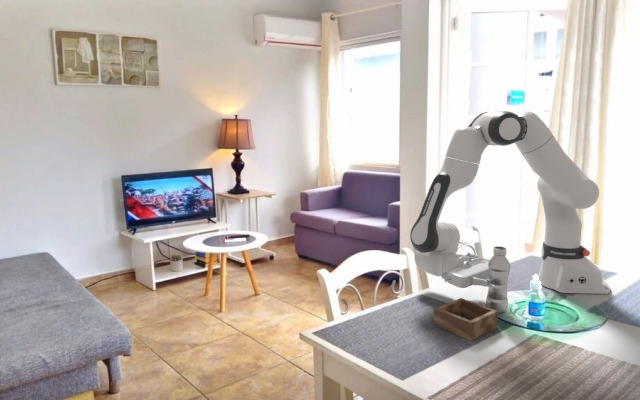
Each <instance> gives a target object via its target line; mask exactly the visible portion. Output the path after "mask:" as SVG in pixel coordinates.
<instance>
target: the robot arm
mask: <svg viewBox="0 0 640 400" xmlns="http://www.w3.org/2000/svg"><path fill="white" fill-rule="evenodd" d="M553 134H554V133H553V132H552V131H551V129H550V128H549V127H548V126H547V125H546V123H545V122H544V121H543V120H542V119H541V118H540V117H539V116H538V115H537V114H536V113H535V112H532V111H524V112H520V113H518V114H516V113H514V112H511V111H505V110H504V111H503V110H493V111H485V112H482V113H479V114H478V115H477V116H476V117H475V118H474V119H473V120H472V121H471V123H469V125H468V126H461V127H459V128H457V129H456V130H455V131H454V133H453V134H452V137H451V140H450V141H449V144H448V147H447V150H446V154H445V157H444V161H443V164H442V167H441V168H440V170H439V172H438V173H437V175H436V176H435V177H434V179H433V180H432V182H431V184H430V187H429V189H428V192H427V195H426V198H425V199H424V202H423V204H422V205H423V206H422V207H421V211H420V213H419V216H418V218H417V219H416V221H415V222H414V224H413V225H412V228H411V229H410V235H409V237H410V242H411V245H412V247H413V248H414V249H415V253H414V262H415V265H416V266H417V268H418V269H420V270H421V271H422V272H425V273H427V274H430V275H433V276H436V277H441V279H444V280H446V282H447V283H448V284H450V285H452V286H454V287H457V288H460V289H466V288H468V287H471V286H481V287H489V273H488V263H489V260H490V259H488V258H484V257H479V255H478V254H474V253H473V254H461V253H460V254H459V253H457V251H458V248H459V245H460V244H459V243H460V241H461V235H460V231H459V229H458V228H457V226H456V225H455V224H453V223H450V222H442V221H441V222H440V221H439V219H440V216H441V214H442V211H443V209H444V206H445V205H446V204H445V203H446V202H447V199H448V198H449V197H450V196H451V195H452V194H454V193H455V192H457V191H459V190H462V189H464V188H467V187H468V186H470V185H471V184H472V183H474V180H475V179H476V177H477V174H478V170H479V167H480V163H481V159H482V155H483V153H484V152H485V149H486V148H487V147H489V146H502V147H503V146H509V145H513V144H515V145H516V147H517V149H518V151H520V153H521V154H522V156H523V158H524V159H525V161H526V162H527V165H529V167H530V168H531V170H532V171H533V172H534V173H535V174H536V175H537V176H539V178H538V180H537V183H536V185H537V190H538V192H539V194H540V196H541V200H542V201H541V202H542V206H543V210H544V211H543V213H544V220H545V225H544V226H545V227H544V241H543V242H542V247H541V260H542V261H541V265H540V269H539V271H538V272H539V273H538V275H537V277H538V276H539V279H540V281H541V283H542V285H541V286H543V287H544V288H548V289H550V290H554V291H557V292H559V293H562V294H588V295H589V294H593V295H594V294H596V295H597V294H599V295H600V294H601V295H608V294H609V293H610V292H611V287H610V285H609V284H608V282H606V281H605V280H604V277H603V274H602V271H601V269H600V268H599V266H597V265H596V264H595V263H594V262H592V260H590V259H589V258H588V257H589V256H590V255H591V252H590V251H589V249H587V248H586V247H584V246H583V245H581V239H582V227H583V226H582V221H581V219H580V218H579V214H578V211H577V210H579V209H580V210H582V209H583V210H584V209H589V208H591V207H593V206H594V205H595V204H596V203H597V202H598V199H599V197H600V189H599V186H598V185H597V183H596V182H595V181H594V180H592V179H591V178H590V177H588V176H587V175H586V174H585V173H584V172H583V170H582V169H581V168H580V167H579V166H578V165H577V164H576V163H575V162H574V161H573V160H572V159H571V158H570V157H569V156H568V154H567V153H566V152H565V151H564V149H563V148H562V146H561V145H560V143H559V142H558V140H557V139H556V137H555V136H554V135H553Z"/></svg>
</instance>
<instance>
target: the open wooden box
mask: <svg viewBox="0 0 640 400" xmlns="http://www.w3.org/2000/svg"><path fill="white" fill-rule="evenodd" d="M498 315H499V313H498V311H497V310H494V309H491V308H488V307H486V305H482V304H479V303H477V302H473V301H471V300H468V299H465V298H462V297H460V298H458V299H455V300H453V301H450V302H448V303H445V304H443V305H440V306H437V307H436V308H435V307H434V310H433V326H435V327H437V328H439V329H442V330H443V331H446V332H449V333H451V334H453V335H456V336H458V337H460V338H464V339H466V340H469V341H470V342H471V341H473V340H476V339H477V338H479V337H481V336H484V335H485V334H487V333H490V332H491V331H493V330H495V329H498V321H499V320H498V318H499V317H498Z"/></svg>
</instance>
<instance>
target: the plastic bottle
mask: <svg viewBox="0 0 640 400" xmlns="http://www.w3.org/2000/svg"><path fill="white" fill-rule="evenodd" d="M492 254H493V255H492V257H491V258H490V259H489V263H488V273H489V279H488V280H489V285H488V286H487V287H488V289H487V295H486V299H485V307H488V308H491V309H494V310H497V311H498V314H503V313H502V312H504V313H506V311H507V310H508V306H509V299H508V281H509V276H510V271H511V263H510V262H509V260H508V258H507V257H506V256H507V248H506V247H504V246H500V245H499V246H496V245H495V246H494V247H493V252H492Z"/></svg>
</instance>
